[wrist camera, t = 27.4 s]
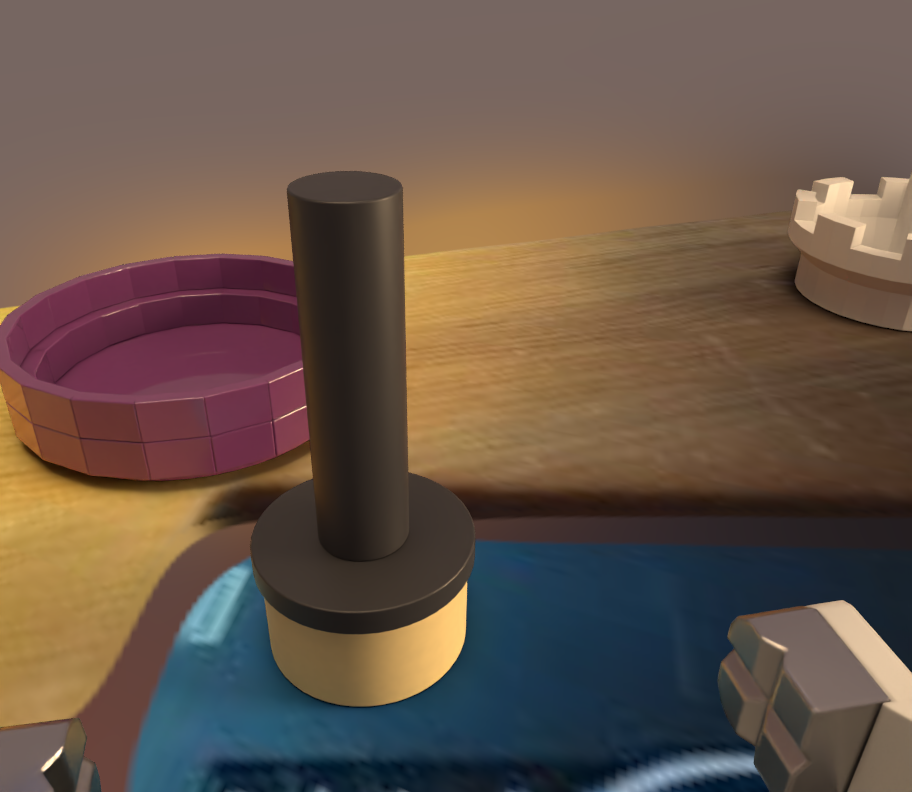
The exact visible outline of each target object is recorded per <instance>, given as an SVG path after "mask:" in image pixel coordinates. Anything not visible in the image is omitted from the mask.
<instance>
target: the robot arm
mask: <svg viewBox="0 0 912 792" xmlns="http://www.w3.org/2000/svg"><path fill="white" fill-rule="evenodd" d="M727 638H728V639H729V641H730V643H731V644H732V646H733V647H734V649H733V650H732V651H731V652H730V653H729V654H728V655H727V657H726V658H725V659H724V660H723V661H722V662H721V666H720V671H719V676H718V686H719V693H720V701H721V703H722V706H723V709H724V711H725V714H726V717H727V719H728V720H729V722H730V724H731V726H732V727H733V729H734V731H735V733H736V734H737V735H739V736H740V737H742V738H743V739H745V740H746V741H748V742H749V743H751V744H752V745H754V746H756V748H755V756H754V765H755V767H756V769H757V770H758V772H759V774H760V775H761V777H762V779H763V780H764V782H765V784H766V785H767V787H768V789H769V790H770V792H912V673H911V672H910V671H909V670H908V668H907V667H906V666H905V665H904V664H903V663H902V662H901V660H900V659H899V658H898V657H897V656H896V655H895V654H894V652H893V651H892V650H891V649H890V648H889V647H888V646H887V644H886V643H885V642H884V641H883V640H882V639H881V638H880V636H879V635H878V634H877V633H876V632H875V631H874V630H873V628H872V627H871V626H870V625H869V624H868V623H867V622H866V620H865V619H864V618H863V617H862V616H861V615H860V614H859V612H858V611H857V610H856V609H855V608H854V607H853V606H852V605H850V604H848V603H847V602H845V601H843V600H841V601H834V602H828V603H821V604H815V605H808V606H806V607H804V606H798V607H792V608H786V609H780V610H774V611H768V612H762V613H756V614H750V615H744V616H738V617H737V618H736V619H735V620H734V621H733V622H732V623H731V626H730V630H729V634H728V637H727ZM86 740H87V736H86V734H85V731H84V728H83V726H82V723H81V720H80V719H79V718H71V719H63V720H55V721H47V722H39V723H31V724H23V725H16V726H8V727H0V792H101V785H100V778H99V774H98V771H97V768H96V764H95V762H93V761H91V760H89V759H88V758H86V757H84V756H83V754H84V750H85V745H86Z"/></svg>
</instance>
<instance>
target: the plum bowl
mask: <svg viewBox="0 0 912 792" xmlns="http://www.w3.org/2000/svg"><path fill="white" fill-rule="evenodd" d="M0 384H1V387H2V391H3V394H4V397H5V400H6V404H7V407H8V410H9V414H10V417H11V420H12V424H13V427H14V430H15V433H16V436H17V437H18V438H19V439H20V440H21V441H22V442H23V443H24V444H26V445H27V446H28V447H29V448H30V449H31V450H32V451H34V452H35V453H36V454H37V455H38V456H39V457H40V458H42V459H43V460H45V461H48V462H51V463H54V464H57V465H60V466H63V467H66V468H69V469H72V470H75V471H78V472H81V473H84V474H87V475H91V476H102V477H112V478H117V479H127V480H139V481H167V480H182V479H192V478H199V477H206V476H213V475H217V474H222V473H227V472H231V471H236V470H239V469H243V468H246V467H250V466H253V465H256V464H259V463H262V462H264V461H267V460H270V459H272V458H275V457H278V456H280V455H282V454H284V453H286V452H288V451H290V450H292V449H295V448H296V447H298V446H300V445H301V444H303V443H305V442H307V441H308V440H309V429H308V418H307V407H306V396H305V385H304V374H303V363H302V352H301V341H300V330H299V319H298V308H297V297H296V286H295V275H294V264H293V261H289V260H284V259H278V258H273V257H268V256H254V255H236V254H207V255H190V256H174V257H167V258H160V259H154V260H148V261H142V262H136V263H129V264H125V265H124V264H123V265H119V266H116V267H112V268H108V269H105V270H101V271H98V272H94V273H91V274H87V275H83V276H79V277H77V278H74V279H72V280H70V281H67V282H65V283H63V284H60V285H58V286H56V287H53V288H51V289H49V290H47V291H44V292H42V293H39V294H38V295H35V296H34V297H33V298H31V299H30V300H28V301H27V302H25V303H24V304H22V305H21V306H20V307H18V308H17V309H15V310H14V311H13V312H11V313H10V314H8V315H7V317H5V319H4V321H3V322H2V324H1V325H0Z"/></svg>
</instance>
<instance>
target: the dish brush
mask: <svg viewBox="0 0 912 792" xmlns="http://www.w3.org/2000/svg"><path fill="white" fill-rule="evenodd" d="M287 198H288V209H289V219H290V230H291V242H292V252H293V264H294V275H295V286H296V297H297V308H298V319H299V330H300V341H301V352H302V363H303V374H304V385H305V396H306V407H307V418H308V429H309V440H310V451H311V462H312V473H313V479H311V480H308V481H306V482H304V483H302V484H300V485H298V486H296V487H294V488H292V489H290V490H289V491H287V492H286V493H284V494H282V495H281V496H280V497H279V498H277V499H276V500H275V501H274V502H273V503H272V504H271V505H270V506H269V507H268V508H267V509H266V510H265V511H264V512H263V514H262V515H261V516H260V518H259V520H258V522H257V523H256V525H255V527H254V530H253V533H252V537H251V544H250V550H251V560H252V567H253V574H254V578H255V581H256V585H257V587H258V589H259V590H260V592H261V594H262V595H263V597H264V599H265V606H266V614H267V621H268V628H269V635H270V642H271V649H272V653H273V656H274V659H275V661H276V663H277V665H278V667H279V669H280V670H281V672H282V673H283V674H284V676H285V677H286V678H287V679H288V680H289V681H290V682H291V683H292V684H293V685H295V686H296V687H297V688H299V689H300V690H302V691H303V692H305V693H307V694H309V695H311V696H312V697H314V698H317V699H320V700H323V701H325V702H329V703H333V704H338V705H345V706H377V705H384V704H388V703H393V702H397V701H400V700H403V699H406V698H409V697H411V696H413V695H415V694H417V693H420V692H421V691H423V690H425V689H426V688H428V687H430V686H431V685H432V684H434V683H435V682H436V681H438V680H439V679H440V678H441V677H442V676H443V675H444V674H445V673H446V672H447V671H448V670H449V669H450V668H451V666H452V665H453V663H454V662H455V661H456V659H457V657H458V655H459V653H460V652H461V649H462V646H463V643H464V639H465V633H466V604H467V580H468V578H469V577H470V574H471V571H472V568H473V564H474V558H475V528H474V524H473V520H472V518H471V516H470V513H469V511H468V510H467V508H466V507H465V505H464V504H463V503H462V502H461V500H460V499H459V498H458V497H457V496H456V495H454V494H453V493H452V492H451V491H449V490H448V489H447V488H445V487H443V486H442V485H440V484H438V483H436V482H434V481H432V480H430V479H428V478H425V477H422V476H419V475H416V474H412V473H409V472H408V436H407V385H406V334H405V282H404V233H403V232H404V231H403V187H402V185H401V183H400V182H399V181H398V180H396V179H394V178H392V177H389V176H386V175H382V174H377V173H371V172H360V171H336V172H326V173H318V174H313V175H309V176H305V177H302V178H299V179H297V180H295V181H293V182H291V183H290V184H289V185H288V188H287Z"/></svg>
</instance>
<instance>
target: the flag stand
mask: <svg viewBox="0 0 912 792" xmlns="http://www.w3.org/2000/svg"><path fill="white" fill-rule="evenodd" d="M853 183H854V181H852V180H849V179H847V178H844V177H838V178H828V179H822V180H818V181H814V182H813V187H812V191H804V190H798V191H797V194H796V198H795V202H794V206H793V211H792V215H791V219H790V224H789V228H788V235H789V238H790V240H791V241H792V242H793V243H794V245H795V246H796V247H797V248H798V250H799V251H800V252H801V256H800V260H799V264H798V269H797V273H796V277H795V284H796V287H797V289H798V290H799V291H800V292H801V294H802V295H804V296H805V297H806V298H808V299H809V300H810V301H812V302H813V303H815V304H817V305H819V306H821V307H822V308H824V309H827V310H829V311H831V312H834V313H836V314H839V315H841V316H844V317H847V318H850V319H853V320H857V321H860V322H864V323H868V324H872V325H876V326H880V327H886V328H891V329H897V330H904V331H912V172H911V176H910V179H903V178H889V177H881V180H880V184H879V188H878V191H877V195H872V194H869V195H868V194H851V191H852V187H853Z"/></svg>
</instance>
